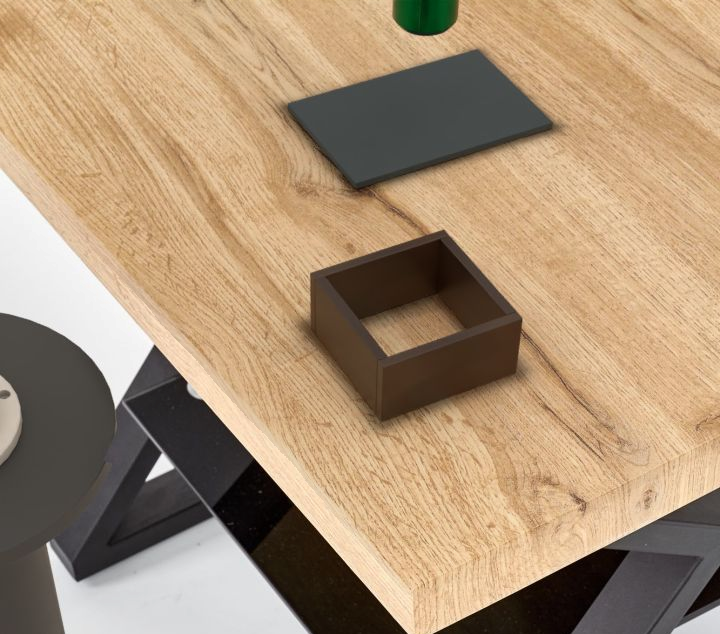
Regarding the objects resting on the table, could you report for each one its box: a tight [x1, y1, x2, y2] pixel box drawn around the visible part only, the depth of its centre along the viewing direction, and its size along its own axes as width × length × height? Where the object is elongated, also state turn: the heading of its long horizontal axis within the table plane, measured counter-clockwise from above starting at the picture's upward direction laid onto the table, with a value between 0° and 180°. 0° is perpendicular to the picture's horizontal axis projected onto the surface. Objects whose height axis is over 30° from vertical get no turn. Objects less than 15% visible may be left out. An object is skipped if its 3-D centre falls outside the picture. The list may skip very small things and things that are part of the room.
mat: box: [287, 48, 554, 190], centre depth 128 cm, size 18×12×1 cm, turn 118°
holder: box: [309, 229, 524, 423], centre depth 108 cm, size 11×11×5 cm
